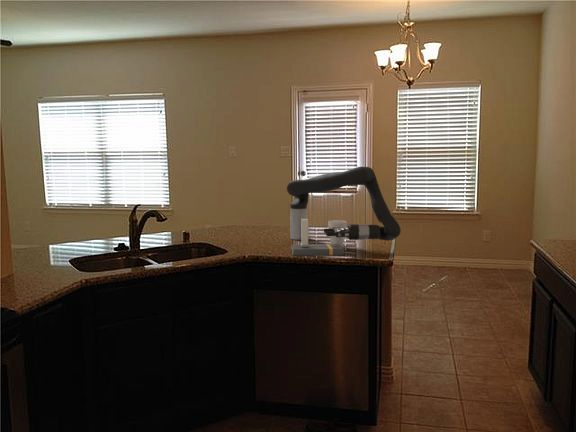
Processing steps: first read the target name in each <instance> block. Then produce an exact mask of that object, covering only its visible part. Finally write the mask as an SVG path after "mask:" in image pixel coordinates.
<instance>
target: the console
mask: <svg viewBox="0 0 576 432" xmlns="http://www.w3.org/2000/svg"><path fill="white" fill-rule="evenodd" d="M308 244H309V247H301V243H299V244H291V253H292V256H297V257H298V256H344V255H345V252H344V251H345V249H344V246H343V247H342V246H341V245H340V244H331V243H325V244H324V243H322V244H321V243H317V244H315V243H314V244H312V243H311V244H310V243H308Z"/></svg>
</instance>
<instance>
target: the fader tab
mask: <svg viewBox="0 0 576 432" xmlns="http://www.w3.org/2000/svg"><path fill="white" fill-rule="evenodd" d="M300 244H301V247H309V244H310V243H309V219H308V218H307V219H301V240H300Z"/></svg>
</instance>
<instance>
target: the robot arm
mask: <svg viewBox="0 0 576 432" xmlns="http://www.w3.org/2000/svg"><path fill="white" fill-rule="evenodd" d="M376 176H377V175H376V174H375V171H374V170H373V168H372V167H370V166H357V167H354V168H351V169H348V170H345V171H337V172H329V173H325V174H320V175H316V176H313V177H309V178H307V179H293V180H291V181H290V182H289V183H288V184H287V185H286V191H287V193H288V194H289V195H290V196H291V197H294V200H293V201H292V202H291V203H290V205H289V206H290V209H289V210H290V211H289V212H290V213H289V214H290V217H289V220H290V223H289V224H290V225H289V226H290V227H289V228H290V231H289V232H290V234H289V235H290V239H291V240H296V241H298V240H300V241H301V219H308V216H307V215H308V213H307V209H308V208H307V207H308V203H309V196H310V195H309V193H325V192H331V191H336V190H338V189H340V188H343V187H346V186H348V187H349V186H364V187H365V188H366V190H367V192H368V193H369V197H370V204H371V209H372V211H373V213H374V215H375V217H376V219H377V220H378V222H379V223H380V224H382V226H379V225H378V224H365V223H364V224H363V223H361V224H357V223H356V224H355V223H354V224H349V225H347V228H346V229H345V228H344V227H343V228H334V227H333V228H332V229H329V228H324V229H323V233H324V234H325V236H326V237H330V236H335V237H345V238H348V240H350V241H362V240H363V241H365V240H380V241H395V239H397V238H398V237H399V236H400V235H401V231H402V230H401V226H400V224H399V223H398V221H397V220H396V219H395V217H394V216H393V215H392V213H391V211H390V209H389V207H388V205H387V203H386V201H385V199H384V197H383V194H382V191H381V189H380V185H379V182H378V180H377V177H376Z"/></svg>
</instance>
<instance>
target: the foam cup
mask: <svg viewBox="0 0 576 432" xmlns="http://www.w3.org/2000/svg"><path fill="white" fill-rule="evenodd" d="M327 223H328V224H327V226H328V229H332V228H333V227H334V228H343V227H344V228H345V229H347V221H346V220H338V219H337V220H328V222H327ZM345 239H346V237H335V236H329V241H330V244H340V245H341V246H342V247H343V248H344V242H345Z"/></svg>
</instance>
